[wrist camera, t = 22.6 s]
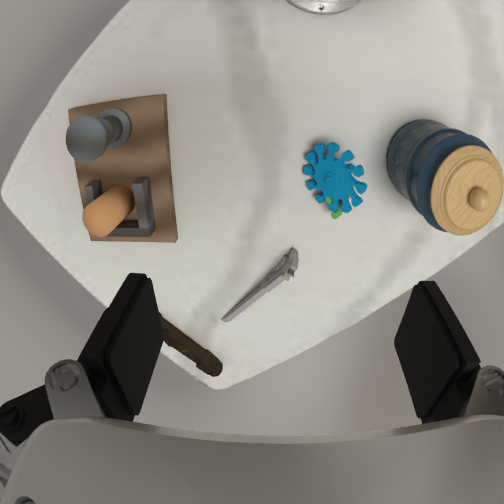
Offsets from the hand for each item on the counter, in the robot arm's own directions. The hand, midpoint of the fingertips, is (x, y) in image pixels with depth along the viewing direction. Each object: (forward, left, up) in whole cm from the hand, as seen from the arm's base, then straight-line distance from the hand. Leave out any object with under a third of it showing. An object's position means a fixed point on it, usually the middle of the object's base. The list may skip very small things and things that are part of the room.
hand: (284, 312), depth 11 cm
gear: (+6, +8, -37) cm, 38 cm away
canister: (+2, +23, -36) cm, 43 cm away
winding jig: (+6, -23, -36) cm, 43 cm away
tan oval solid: (+10, -23, -35) cm, 43 cm away
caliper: (+26, -2, -37) cm, 45 cm away
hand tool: (+41, -15, -37) cm, 57 cm away
